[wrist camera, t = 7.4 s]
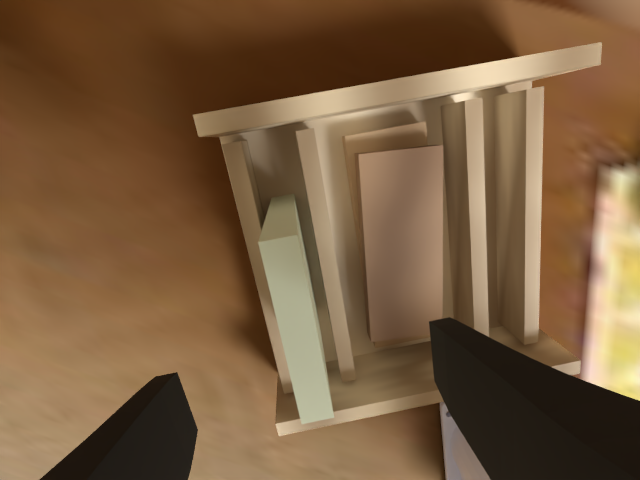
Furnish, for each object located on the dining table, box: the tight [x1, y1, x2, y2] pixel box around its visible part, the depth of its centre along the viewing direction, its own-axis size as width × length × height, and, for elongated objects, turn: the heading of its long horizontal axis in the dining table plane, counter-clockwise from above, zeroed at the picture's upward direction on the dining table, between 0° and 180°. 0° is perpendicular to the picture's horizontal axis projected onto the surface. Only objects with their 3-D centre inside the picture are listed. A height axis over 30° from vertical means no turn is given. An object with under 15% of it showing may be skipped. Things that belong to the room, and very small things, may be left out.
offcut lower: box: [342, 122, 430, 348], centre depth 19 cm, size 4×12×1 cm, turn 10°
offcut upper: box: [355, 145, 443, 342], centre depth 18 cm, size 4×10×1 cm, turn 6°
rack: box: [193, 42, 602, 436], centre depth 17 cm, size 16×16×5 cm
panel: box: [258, 194, 334, 424], centre depth 15 cm, size 1×7×8 cm, turn 10°
